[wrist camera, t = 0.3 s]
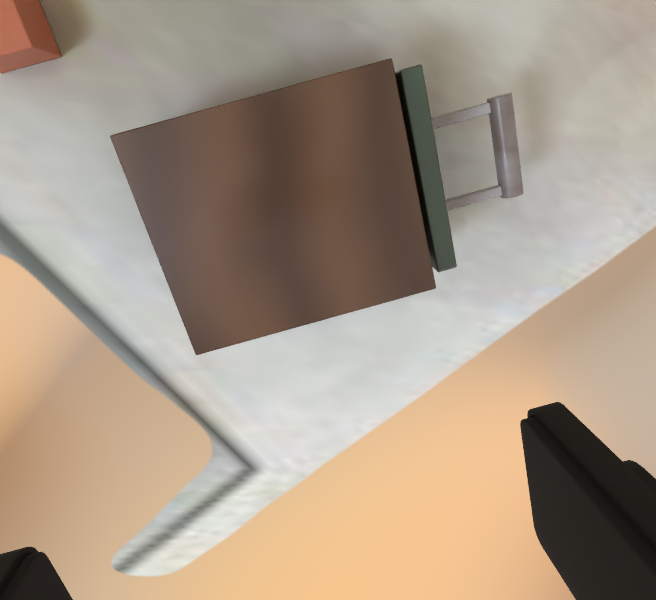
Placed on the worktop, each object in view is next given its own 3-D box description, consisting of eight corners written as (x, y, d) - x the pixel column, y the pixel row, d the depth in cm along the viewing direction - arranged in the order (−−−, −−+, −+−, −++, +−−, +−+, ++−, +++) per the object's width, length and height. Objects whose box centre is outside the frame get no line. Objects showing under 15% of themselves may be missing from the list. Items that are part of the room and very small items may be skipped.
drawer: (474, 54, 33) (527, 34, 26) (497, 220, 36) (548, 242, 30) (193, 131, 32) (171, 132, 26) (247, 290, 36) (240, 327, 30)
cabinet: (362, 76, 33) (392, 58, 25) (400, 252, 37) (436, 288, 29) (152, 133, 33) (109, 135, 25) (214, 303, 37) (195, 355, 29)
